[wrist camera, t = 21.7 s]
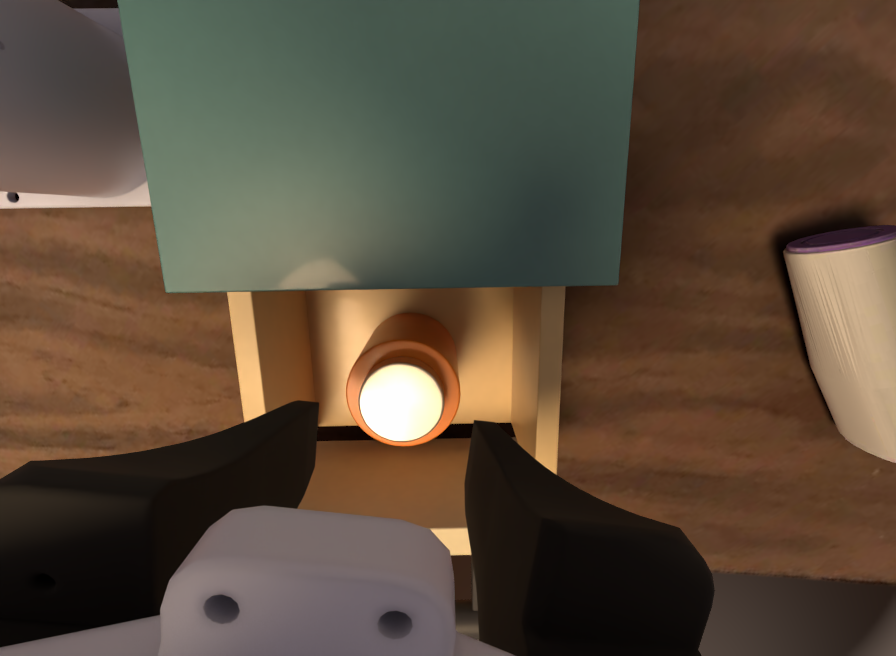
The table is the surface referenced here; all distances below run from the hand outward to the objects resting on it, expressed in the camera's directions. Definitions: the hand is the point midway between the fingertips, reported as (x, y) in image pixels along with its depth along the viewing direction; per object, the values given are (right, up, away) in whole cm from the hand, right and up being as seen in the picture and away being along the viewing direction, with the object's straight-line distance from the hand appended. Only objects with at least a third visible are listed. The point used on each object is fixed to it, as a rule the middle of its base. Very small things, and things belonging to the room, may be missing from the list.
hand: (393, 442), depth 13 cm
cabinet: (0, +13, +7) cm, 15 cm away
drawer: (0, 0, +10) cm, 10 cm away
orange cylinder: (0, +2, +8) cm, 8 cm away
